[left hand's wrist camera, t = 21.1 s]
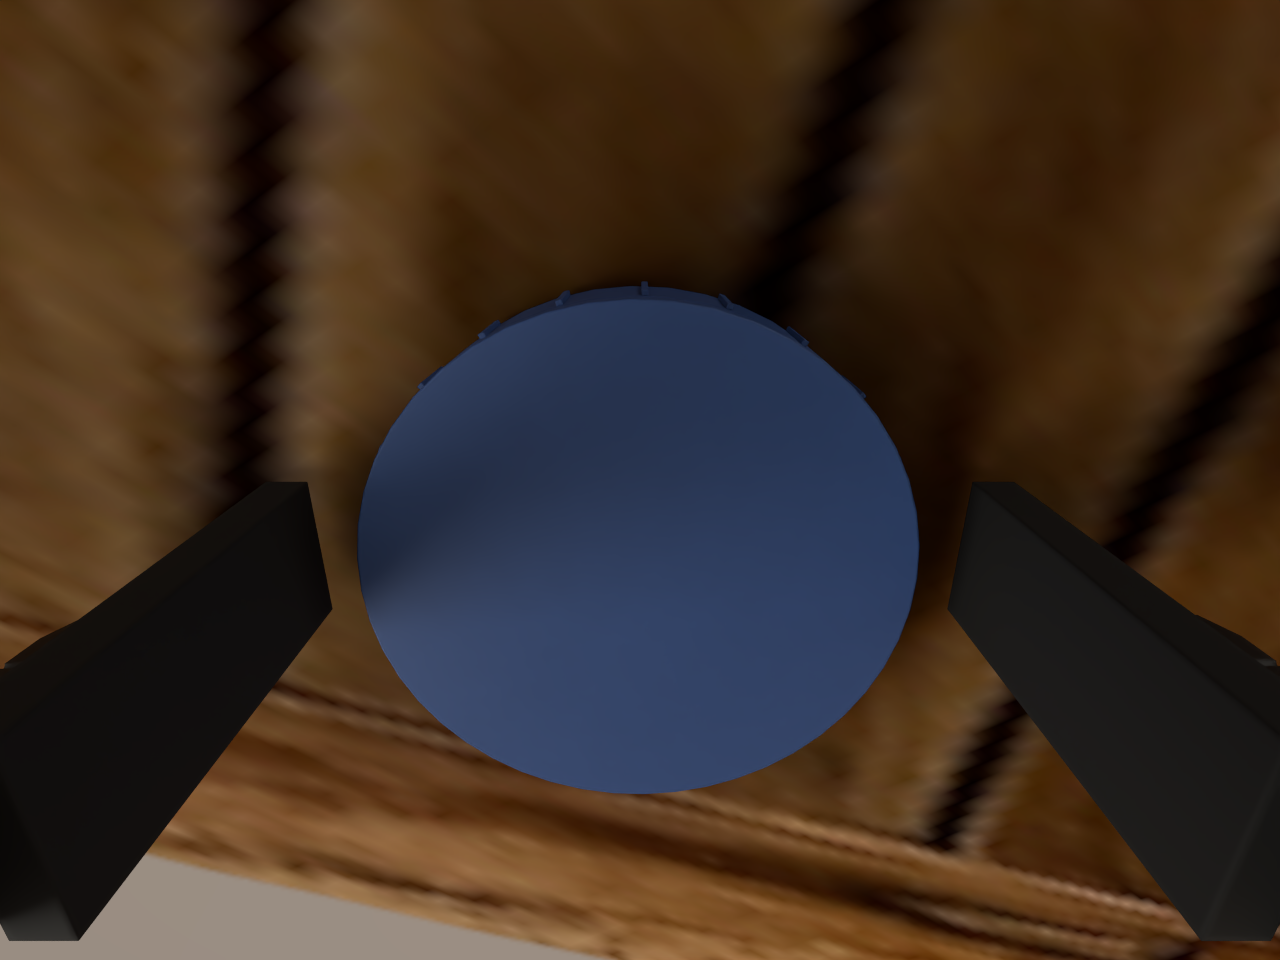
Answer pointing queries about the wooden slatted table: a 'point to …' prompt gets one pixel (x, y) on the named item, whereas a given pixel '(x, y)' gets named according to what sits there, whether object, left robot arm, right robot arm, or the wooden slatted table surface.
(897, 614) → the lid
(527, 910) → the wooden slatted table surface
